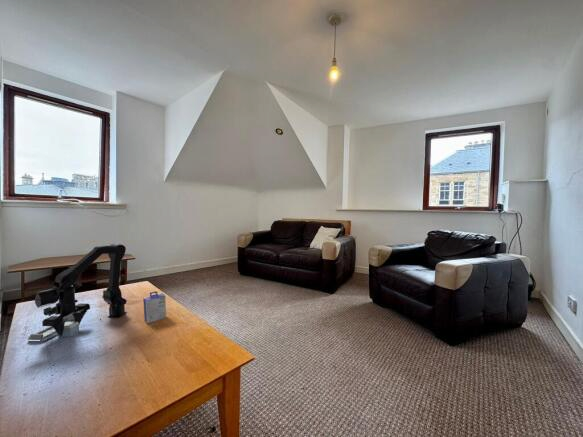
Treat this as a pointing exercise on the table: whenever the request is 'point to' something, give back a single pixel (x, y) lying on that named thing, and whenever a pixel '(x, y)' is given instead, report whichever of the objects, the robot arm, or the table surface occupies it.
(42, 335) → the din rail
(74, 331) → the block
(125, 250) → the robot arm
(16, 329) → the table surface
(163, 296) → the ink cartridge box
